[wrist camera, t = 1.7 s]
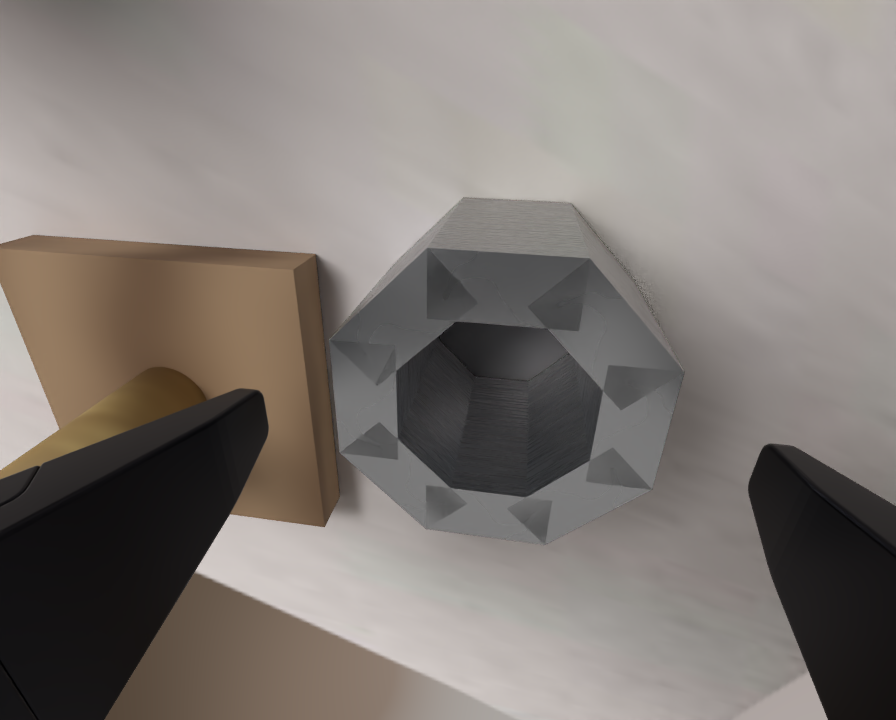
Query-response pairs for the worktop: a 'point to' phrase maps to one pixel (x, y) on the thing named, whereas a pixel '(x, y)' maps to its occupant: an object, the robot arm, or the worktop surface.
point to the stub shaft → (179, 351)
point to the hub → (502, 400)
